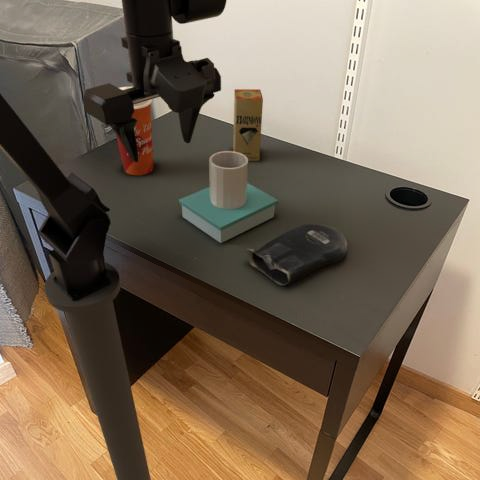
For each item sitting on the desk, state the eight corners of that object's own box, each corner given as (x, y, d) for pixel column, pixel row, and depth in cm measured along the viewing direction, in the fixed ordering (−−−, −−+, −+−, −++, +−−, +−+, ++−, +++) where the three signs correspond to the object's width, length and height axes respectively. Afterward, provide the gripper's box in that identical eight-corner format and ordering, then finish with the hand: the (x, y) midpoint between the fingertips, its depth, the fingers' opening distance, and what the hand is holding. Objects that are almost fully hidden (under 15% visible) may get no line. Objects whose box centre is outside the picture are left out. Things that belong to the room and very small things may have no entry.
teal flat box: (220, 245, 76) (220, 227, 74) (179, 216, 81) (178, 199, 79) (276, 217, 82) (278, 200, 80) (235, 192, 88) (235, 175, 85)
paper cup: (138, 182, 89) (128, 105, 80) (110, 169, 93) (96, 93, 83) (167, 167, 94) (161, 92, 84) (139, 155, 97) (130, 81, 87)
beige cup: (226, 213, 77) (226, 172, 72) (202, 198, 80) (201, 158, 75) (253, 201, 80) (256, 161, 75) (229, 186, 83) (230, 147, 78)
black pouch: (291, 301, 69) (359, 250, 75) (287, 271, 65) (359, 220, 71) (248, 276, 75) (314, 230, 81) (243, 247, 71) (312, 201, 77)
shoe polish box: (259, 160, 97) (262, 99, 88) (234, 160, 97) (236, 99, 88) (257, 149, 100) (260, 89, 92) (233, 149, 100) (234, 89, 92)
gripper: (119, 63, 50) (139, 195, 61) (249, 31, 59) (246, 151, 70) (67, 38, 56) (94, 163, 67) (193, 13, 65) (198, 127, 76)
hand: (162, 151), depth 70 cm, fingers open, 9 cm apart
